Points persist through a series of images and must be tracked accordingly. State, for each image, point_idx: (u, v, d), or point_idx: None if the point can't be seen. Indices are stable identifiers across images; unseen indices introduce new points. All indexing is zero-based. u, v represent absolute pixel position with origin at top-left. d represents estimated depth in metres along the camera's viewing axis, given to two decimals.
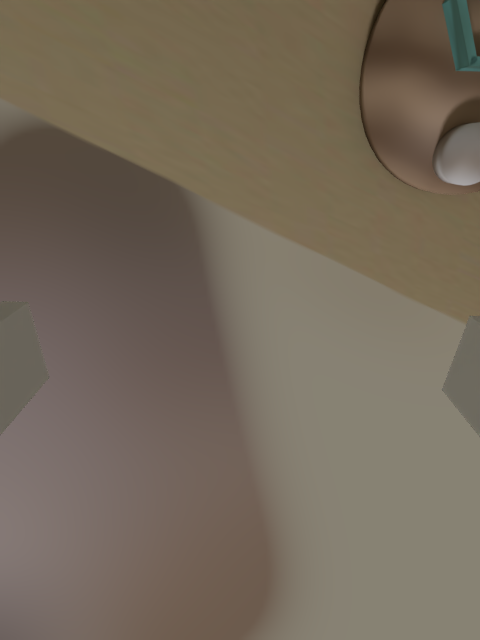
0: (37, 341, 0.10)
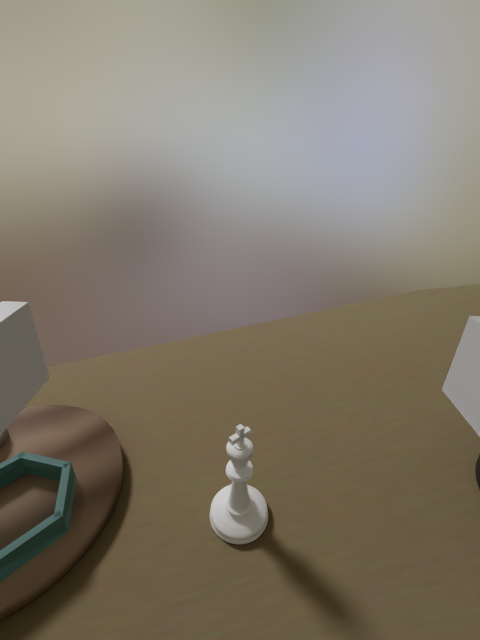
0: (37, 341, 0.10)
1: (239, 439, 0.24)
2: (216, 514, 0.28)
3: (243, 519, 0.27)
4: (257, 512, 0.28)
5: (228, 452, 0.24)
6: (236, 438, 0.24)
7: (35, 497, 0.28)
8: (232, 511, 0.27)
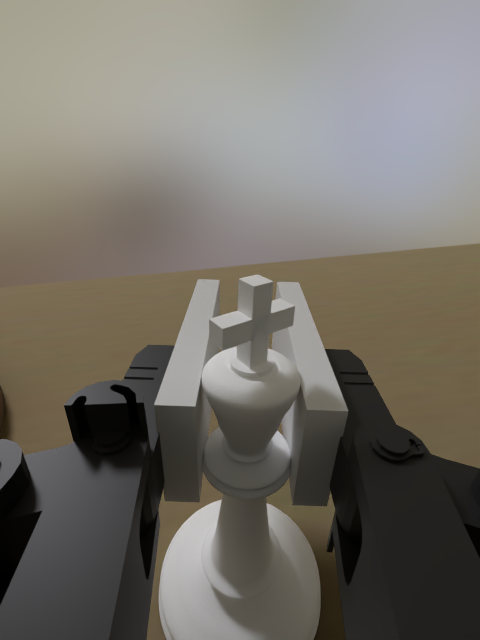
0: (218, 313, 0.13)
1: (251, 332, 0.06)
2: (175, 585, 0.10)
3: (252, 610, 0.09)
4: (292, 586, 0.10)
5: (207, 385, 0.07)
6: (239, 323, 0.06)
7: None
8: (220, 583, 0.09)
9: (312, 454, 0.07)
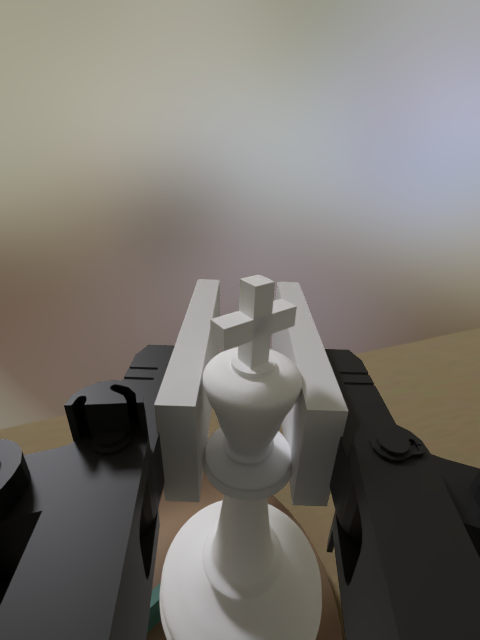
0: (218, 313, 0.13)
1: (252, 332, 0.06)
2: (176, 586, 0.10)
3: (253, 611, 0.09)
4: (293, 587, 0.10)
5: (208, 386, 0.06)
6: (240, 324, 0.06)
7: None
8: (221, 584, 0.09)
9: (312, 454, 0.07)
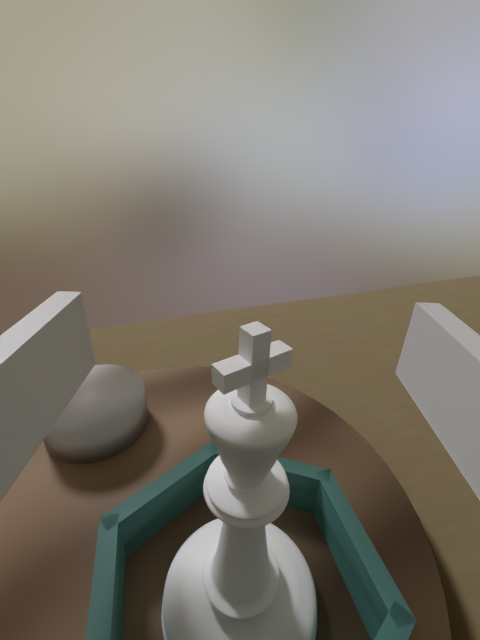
0: (87, 329, 0.11)
1: (250, 376, 0.07)
2: (177, 602, 0.10)
3: (250, 629, 0.09)
4: (290, 606, 0.10)
5: (209, 423, 0.07)
6: (239, 369, 0.06)
7: None
8: (220, 602, 0.09)
9: None
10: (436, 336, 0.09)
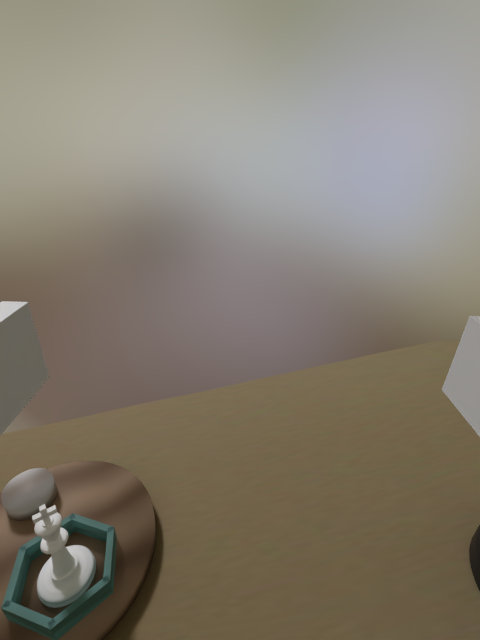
0: (37, 341, 0.10)
1: (42, 518, 0.27)
2: (42, 576, 0.31)
3: (61, 584, 0.30)
4: (78, 577, 0.31)
5: (34, 528, 0.28)
6: (38, 517, 0.27)
7: None
8: (52, 575, 0.30)
9: None
10: None
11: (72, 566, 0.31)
